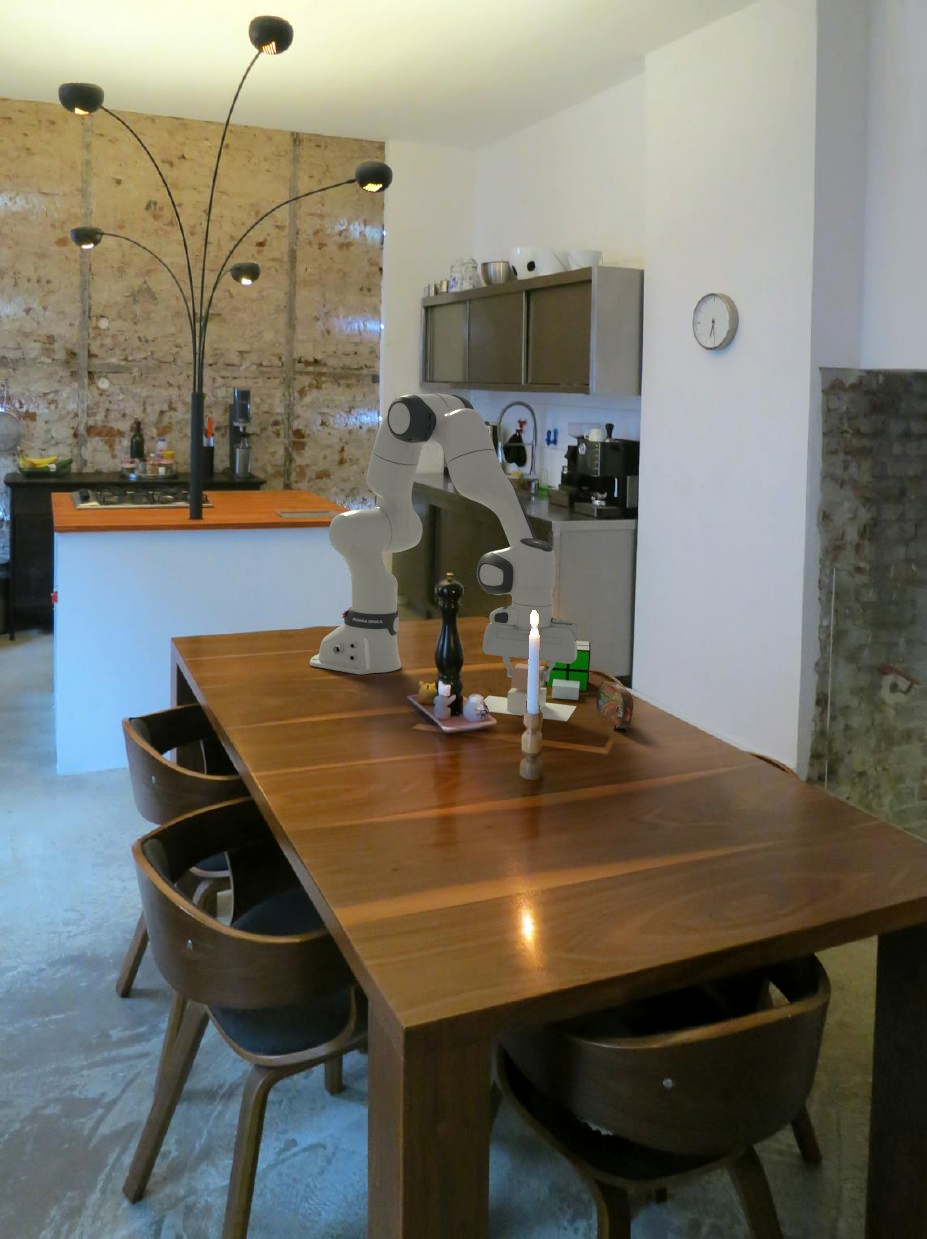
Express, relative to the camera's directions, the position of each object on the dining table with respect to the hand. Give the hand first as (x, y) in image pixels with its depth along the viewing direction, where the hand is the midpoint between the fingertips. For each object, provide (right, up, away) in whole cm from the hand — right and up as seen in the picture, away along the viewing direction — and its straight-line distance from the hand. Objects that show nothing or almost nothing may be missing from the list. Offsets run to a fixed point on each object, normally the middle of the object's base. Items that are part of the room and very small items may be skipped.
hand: (527, 678), depth 235 cm
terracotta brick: (0, -2, 0) cm, 2 cm away
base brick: (0, -6, +1) cm, 7 cm away
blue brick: (+9, -6, +13) cm, 17 cm away
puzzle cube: (+11, -3, +26) cm, 28 cm away
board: (0, -7, +2) cm, 8 cm away
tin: (+18, -10, -3) cm, 21 cm away
